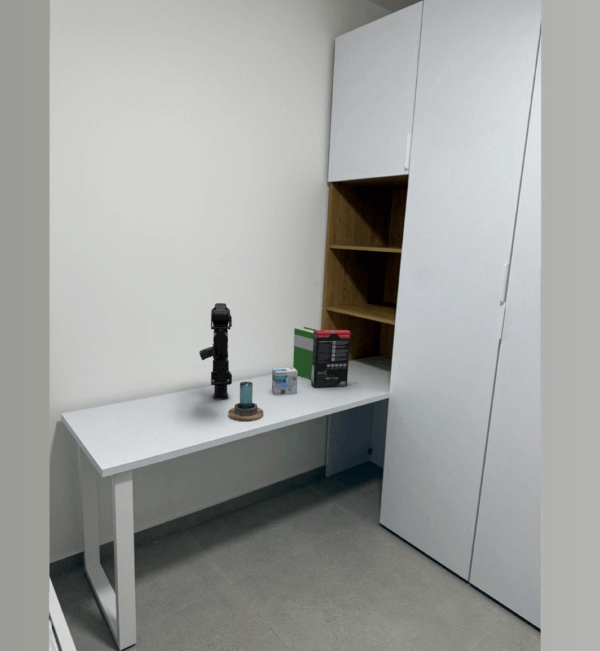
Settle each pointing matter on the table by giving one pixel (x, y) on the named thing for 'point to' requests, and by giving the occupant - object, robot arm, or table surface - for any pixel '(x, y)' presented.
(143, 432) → the table surface
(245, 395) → the ball
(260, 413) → the socket dock
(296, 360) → the hardback book
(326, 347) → the graphics card box
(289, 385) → the light bulb box
